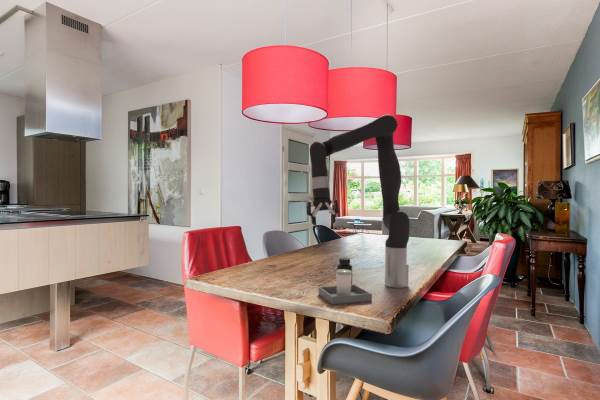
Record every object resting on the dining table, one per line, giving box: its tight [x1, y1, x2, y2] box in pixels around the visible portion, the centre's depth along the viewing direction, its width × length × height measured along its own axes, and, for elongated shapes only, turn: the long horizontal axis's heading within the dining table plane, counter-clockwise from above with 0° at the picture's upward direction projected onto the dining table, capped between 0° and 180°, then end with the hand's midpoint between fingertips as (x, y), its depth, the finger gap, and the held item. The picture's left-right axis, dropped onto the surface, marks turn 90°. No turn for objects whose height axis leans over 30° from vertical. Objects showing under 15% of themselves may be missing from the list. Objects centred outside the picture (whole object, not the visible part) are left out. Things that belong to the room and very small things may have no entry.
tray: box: [318, 283, 373, 306], centre depth 133 cm, size 16×14×3 cm
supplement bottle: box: [336, 257, 353, 285], centre depth 152 cm, size 7×7×12 cm
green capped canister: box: [335, 269, 353, 296], centre depth 133 cm, size 6×6×10 cm
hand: (323, 224), depth 151 cm, fingers open, 8 cm apart
